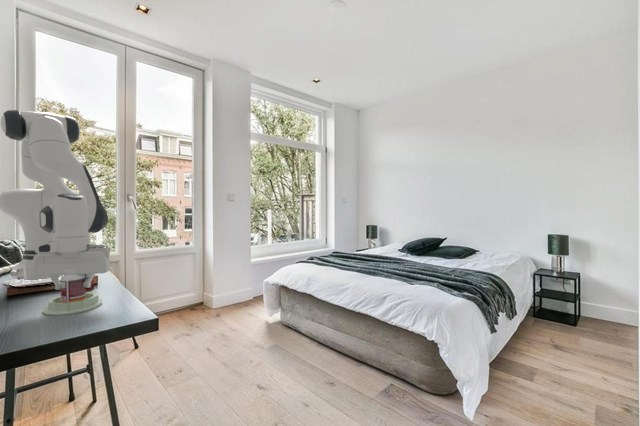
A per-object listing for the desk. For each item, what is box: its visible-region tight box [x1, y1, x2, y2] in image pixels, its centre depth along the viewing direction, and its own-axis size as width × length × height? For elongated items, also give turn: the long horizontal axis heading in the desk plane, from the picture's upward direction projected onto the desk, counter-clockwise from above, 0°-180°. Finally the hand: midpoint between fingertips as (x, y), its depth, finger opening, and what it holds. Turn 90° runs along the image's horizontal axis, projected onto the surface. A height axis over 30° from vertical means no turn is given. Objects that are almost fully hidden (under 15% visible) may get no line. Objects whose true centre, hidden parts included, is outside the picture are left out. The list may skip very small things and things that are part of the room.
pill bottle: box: [60, 269, 87, 303], centre depth 101 cm, size 6×6×11 cm
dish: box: [42, 291, 103, 316], centre depth 101 cm, size 15×15×3 cm
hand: (73, 288), depth 101 cm, fingers closed on pill bottle, 6 cm apart
